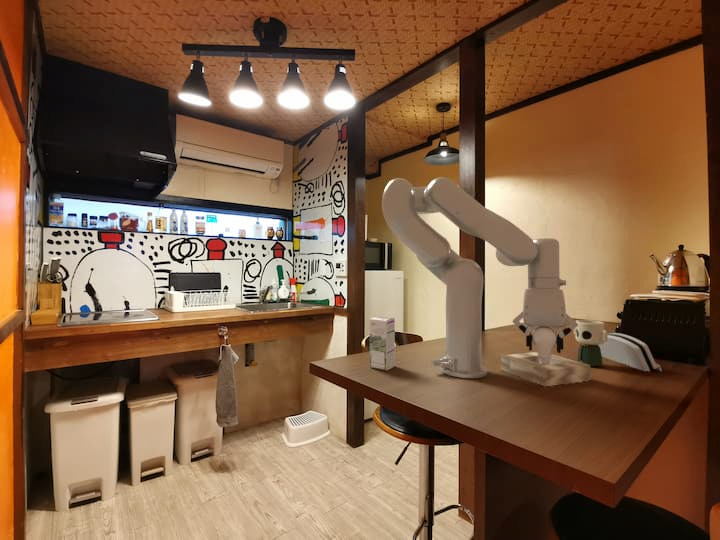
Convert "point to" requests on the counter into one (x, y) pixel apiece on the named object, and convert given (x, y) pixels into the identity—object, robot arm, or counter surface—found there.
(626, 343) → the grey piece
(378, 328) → the syrup box
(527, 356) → the holder
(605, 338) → the character mug
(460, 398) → the counter surface
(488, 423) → the counter surface
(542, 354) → the lightbulb
